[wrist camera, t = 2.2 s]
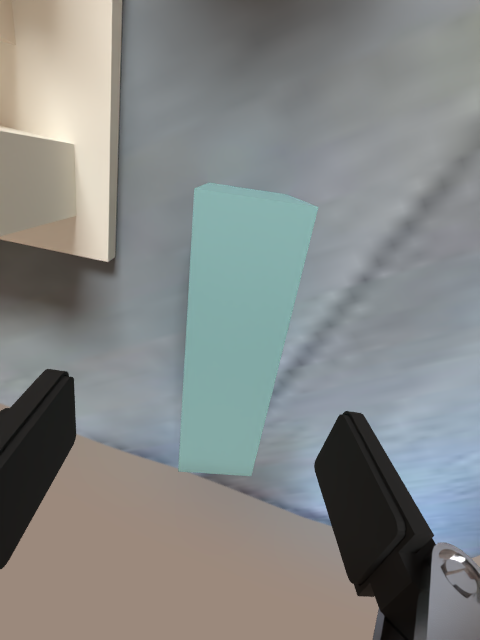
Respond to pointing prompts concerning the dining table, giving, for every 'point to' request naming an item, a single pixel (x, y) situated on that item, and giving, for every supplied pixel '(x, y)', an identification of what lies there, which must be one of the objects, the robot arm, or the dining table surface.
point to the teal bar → (237, 320)
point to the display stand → (60, 124)
